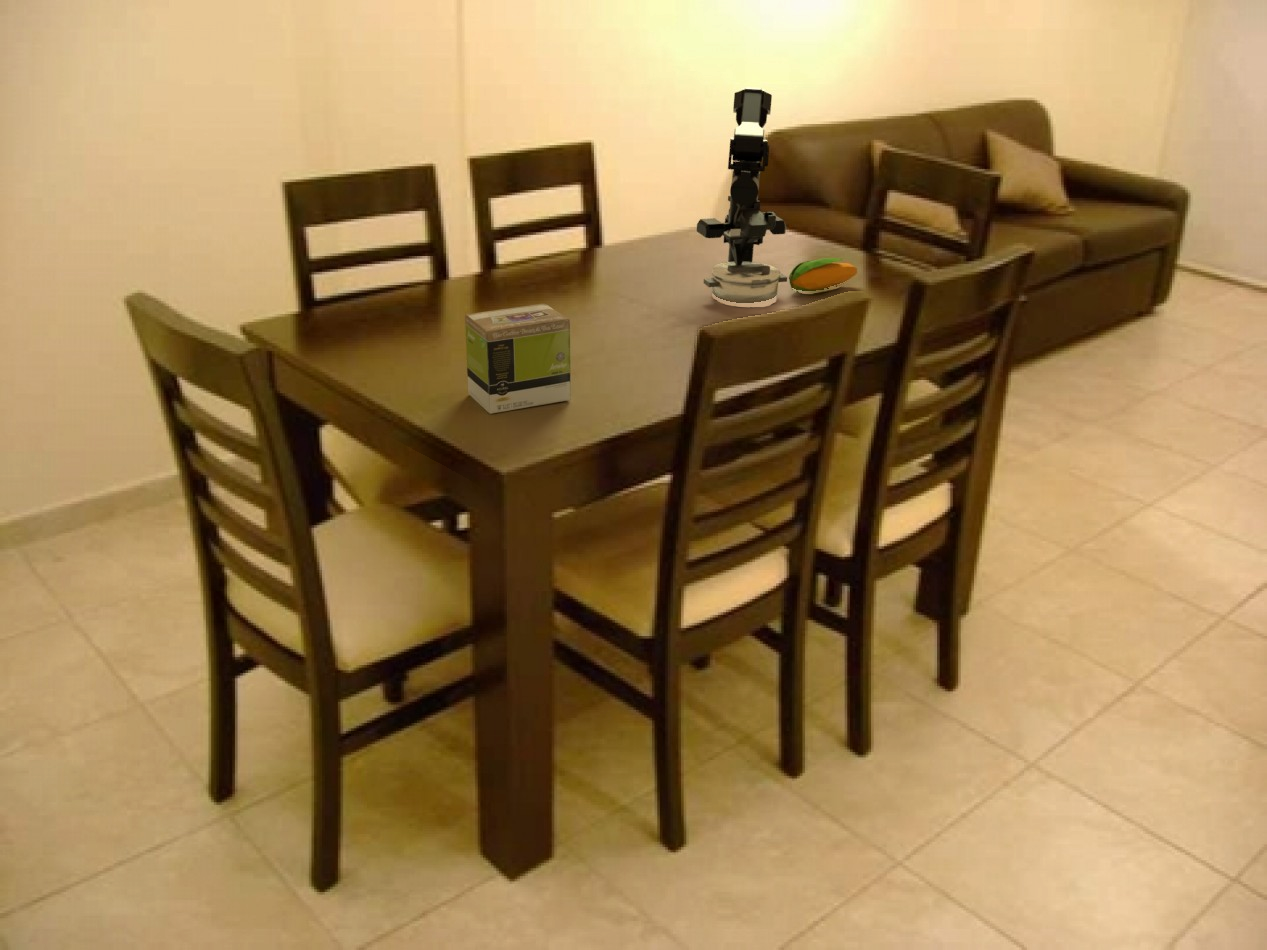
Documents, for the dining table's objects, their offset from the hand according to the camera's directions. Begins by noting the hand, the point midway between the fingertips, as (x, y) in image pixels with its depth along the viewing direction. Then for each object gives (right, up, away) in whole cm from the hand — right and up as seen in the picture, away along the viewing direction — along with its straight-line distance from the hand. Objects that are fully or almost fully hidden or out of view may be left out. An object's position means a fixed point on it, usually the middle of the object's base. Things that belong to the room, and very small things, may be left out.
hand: (738, 265), depth 260 cm
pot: (+1, -7, -1) cm, 7 cm away
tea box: (-42, -33, -57) cm, 78 cm away
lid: (+1, -3, -3) cm, 5 cm away
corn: (+19, -5, +7) cm, 21 cm away
